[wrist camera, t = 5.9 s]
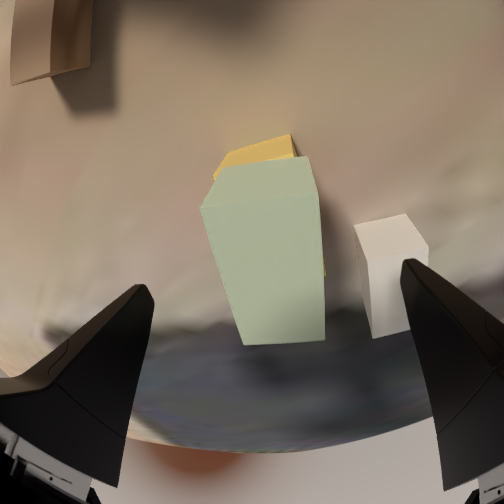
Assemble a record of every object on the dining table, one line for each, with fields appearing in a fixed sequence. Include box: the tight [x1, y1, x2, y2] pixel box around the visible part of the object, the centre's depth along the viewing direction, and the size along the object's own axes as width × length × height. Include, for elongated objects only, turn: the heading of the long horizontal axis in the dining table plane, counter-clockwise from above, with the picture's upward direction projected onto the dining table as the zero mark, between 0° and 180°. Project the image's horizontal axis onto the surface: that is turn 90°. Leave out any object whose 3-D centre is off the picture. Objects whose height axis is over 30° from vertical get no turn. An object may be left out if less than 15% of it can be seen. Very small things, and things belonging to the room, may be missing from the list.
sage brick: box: [200, 156, 325, 345], centre depth 11 cm, size 6×3×4 cm, turn 11°
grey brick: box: [353, 214, 428, 339], centre depth 15 cm, size 6×3×4 cm, turn 19°
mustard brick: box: [213, 134, 326, 277], centre depth 13 cm, size 6×3×4 cm, turn 19°
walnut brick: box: [10, 0, 94, 86], centre depth 8 cm, size 6×3×4 cm, turn 176°
